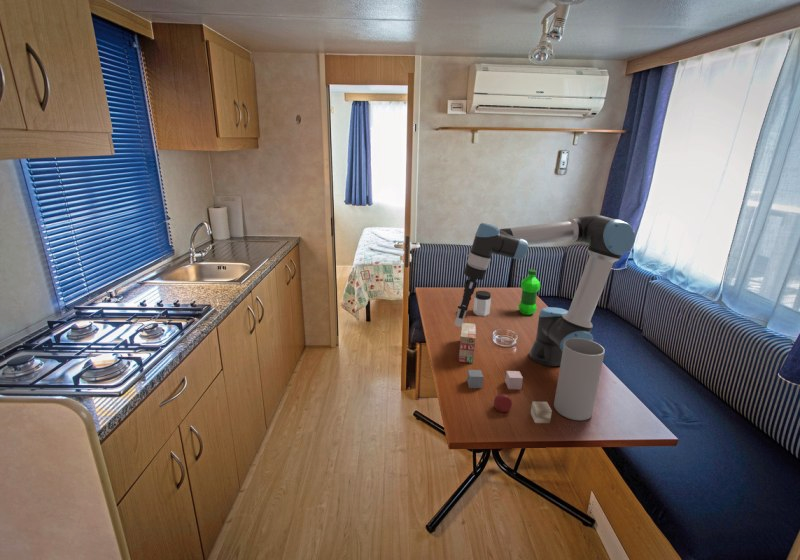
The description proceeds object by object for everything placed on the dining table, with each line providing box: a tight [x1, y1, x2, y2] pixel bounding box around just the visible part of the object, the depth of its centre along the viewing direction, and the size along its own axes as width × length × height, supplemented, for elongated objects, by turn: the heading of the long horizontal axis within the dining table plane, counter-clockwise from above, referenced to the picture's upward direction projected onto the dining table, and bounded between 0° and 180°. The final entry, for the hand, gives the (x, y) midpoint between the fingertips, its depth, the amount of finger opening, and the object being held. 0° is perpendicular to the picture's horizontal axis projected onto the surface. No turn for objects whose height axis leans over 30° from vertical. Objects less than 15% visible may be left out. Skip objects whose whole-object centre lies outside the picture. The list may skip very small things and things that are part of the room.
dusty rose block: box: [504, 370, 524, 390], centre depth 157 cm, size 5×5×5 cm
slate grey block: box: [466, 369, 484, 389], centre depth 157 cm, size 5×5×5 cm
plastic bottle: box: [518, 269, 541, 316], centre depth 226 cm, size 10×10×25 cm
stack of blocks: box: [458, 322, 477, 364], centre depth 182 cm, size 21×6×12 cm, turn 169°
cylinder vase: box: [553, 338, 606, 421], centre depth 140 cm, size 12×12×25 cm
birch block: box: [530, 400, 553, 424], centre depth 138 cm, size 5×5×5 cm
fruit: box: [493, 387, 513, 413], centre depth 144 cm, size 6×6×8 cm
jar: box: [472, 290, 492, 317], centre depth 226 cm, size 9×8×12 cm
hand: (459, 320), depth 152 cm, fingers open, 13 cm apart
